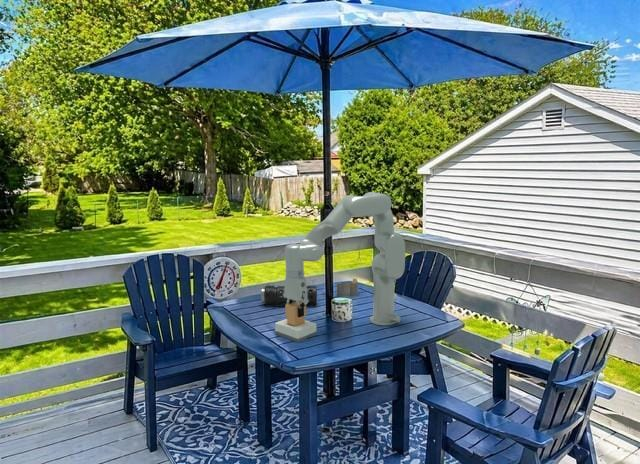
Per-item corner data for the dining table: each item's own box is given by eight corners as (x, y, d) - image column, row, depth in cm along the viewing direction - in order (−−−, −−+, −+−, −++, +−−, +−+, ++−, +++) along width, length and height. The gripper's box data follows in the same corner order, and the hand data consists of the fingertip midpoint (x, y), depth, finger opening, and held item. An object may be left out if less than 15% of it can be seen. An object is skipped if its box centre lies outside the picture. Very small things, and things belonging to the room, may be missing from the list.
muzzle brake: (316, 308, 234) (316, 288, 232) (261, 308, 234) (260, 288, 232) (316, 302, 243) (316, 283, 241) (263, 302, 243) (263, 283, 242)
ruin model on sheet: (356, 294, 256) (357, 277, 255) (358, 296, 253) (358, 279, 252) (336, 295, 255) (336, 278, 253) (337, 297, 252) (337, 280, 250)
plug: (306, 322, 199) (306, 303, 197) (294, 326, 194) (293, 307, 192) (297, 319, 203) (297, 301, 201) (285, 323, 198) (285, 304, 196)
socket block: (316, 334, 198) (316, 323, 197) (298, 342, 190) (298, 330, 189) (293, 326, 208) (293, 316, 207) (275, 333, 200) (275, 322, 199)
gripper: (315, 275, 191) (316, 317, 194) (287, 268, 203) (289, 308, 206) (302, 278, 186) (303, 321, 189) (274, 271, 198) (276, 312, 201)
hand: (295, 314), depth 198 cm, fingers closed on plug, 5 cm apart
